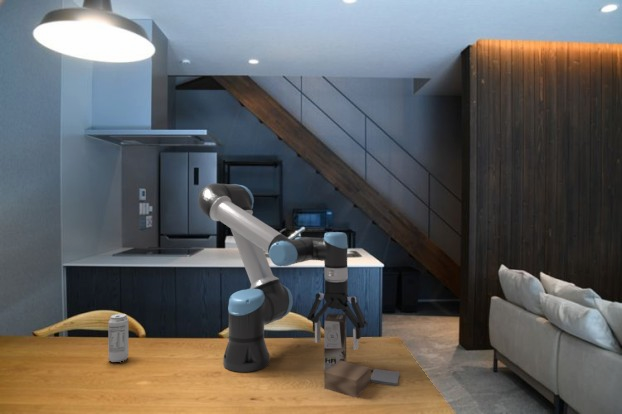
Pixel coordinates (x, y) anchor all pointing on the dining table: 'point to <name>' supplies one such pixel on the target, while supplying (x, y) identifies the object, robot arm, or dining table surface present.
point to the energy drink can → (118, 337)
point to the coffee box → (334, 340)
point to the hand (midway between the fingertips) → (336, 345)
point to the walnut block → (347, 378)
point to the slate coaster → (385, 377)
